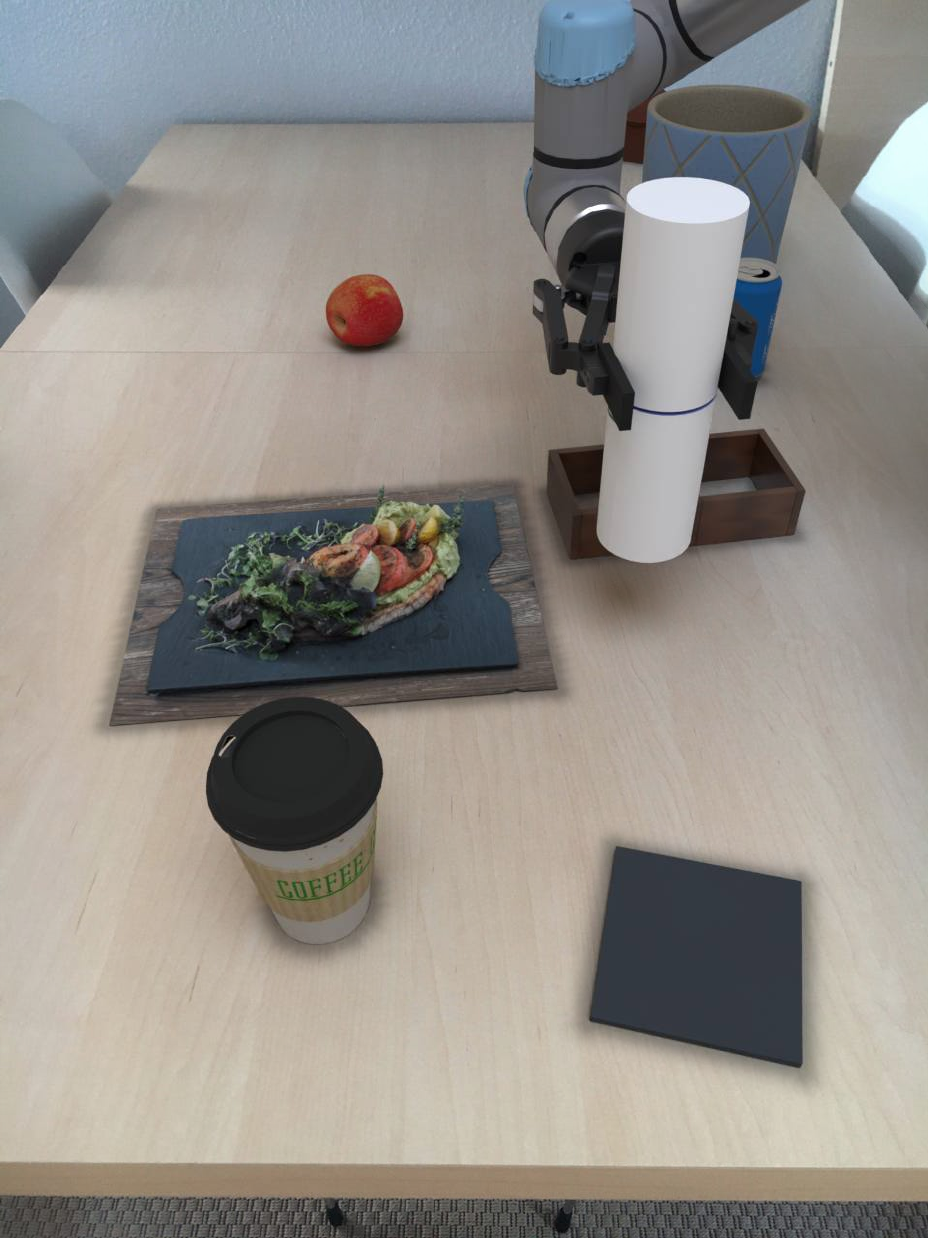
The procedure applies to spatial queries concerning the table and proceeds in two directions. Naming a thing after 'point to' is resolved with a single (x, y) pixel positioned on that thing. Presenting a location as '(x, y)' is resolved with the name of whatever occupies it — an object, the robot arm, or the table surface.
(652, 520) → the cylindrical container
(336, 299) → the apple
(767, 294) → the beverage can
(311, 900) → the coffee cup
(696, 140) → the planter
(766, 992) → the mat
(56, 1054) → the table surface
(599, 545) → the stand
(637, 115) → the muffin
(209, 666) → the plated dish
